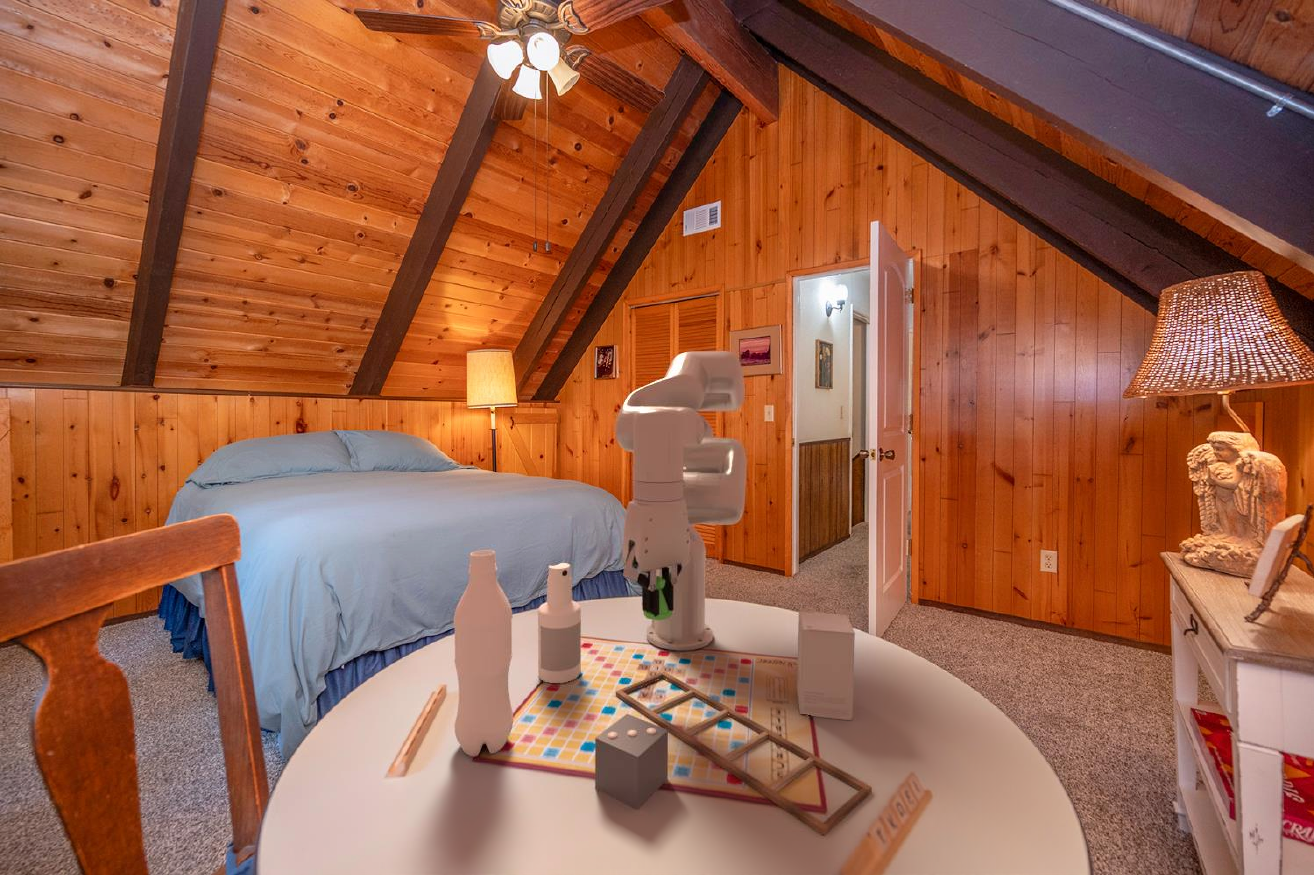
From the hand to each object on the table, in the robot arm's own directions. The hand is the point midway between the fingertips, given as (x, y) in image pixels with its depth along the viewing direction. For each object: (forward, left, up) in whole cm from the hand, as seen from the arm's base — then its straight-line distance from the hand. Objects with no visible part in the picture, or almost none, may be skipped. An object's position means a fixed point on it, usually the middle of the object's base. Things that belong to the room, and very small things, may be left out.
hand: (657, 610), depth 82 cm
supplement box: (+18, +17, -13) cm, 28 cm away
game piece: (0, 0, -1) cm, 1 cm away
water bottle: (-5, -25, -13) cm, 29 cm away
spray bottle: (-15, -8, -13) cm, 21 cm away
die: (+13, -15, -13) cm, 24 cm away
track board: (+14, 0, -13) cm, 19 cm away
